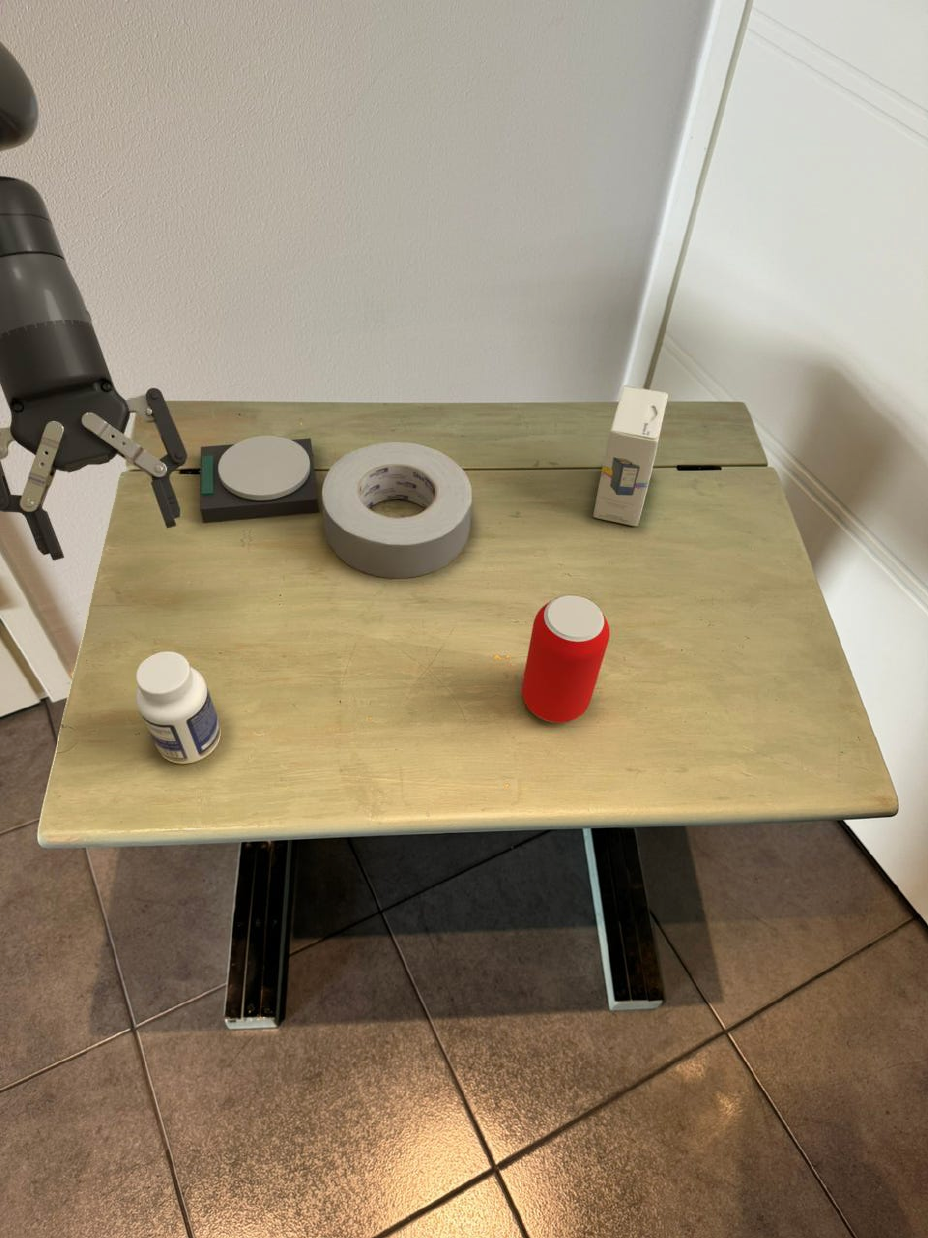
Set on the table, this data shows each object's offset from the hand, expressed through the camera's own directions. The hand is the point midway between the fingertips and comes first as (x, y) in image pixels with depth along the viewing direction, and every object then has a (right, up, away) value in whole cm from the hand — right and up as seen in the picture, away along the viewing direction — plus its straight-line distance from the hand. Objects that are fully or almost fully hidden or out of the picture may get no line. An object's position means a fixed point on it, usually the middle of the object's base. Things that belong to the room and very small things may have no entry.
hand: (116, 542), depth 65 cm
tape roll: (+20, +4, +24) cm, 31 cm away
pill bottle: (+3, -16, +7) cm, 18 cm away
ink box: (+44, +7, +28) cm, 53 cm away
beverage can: (+35, -13, +11) cm, 39 cm away
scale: (+5, +9, +26) cm, 28 cm away
